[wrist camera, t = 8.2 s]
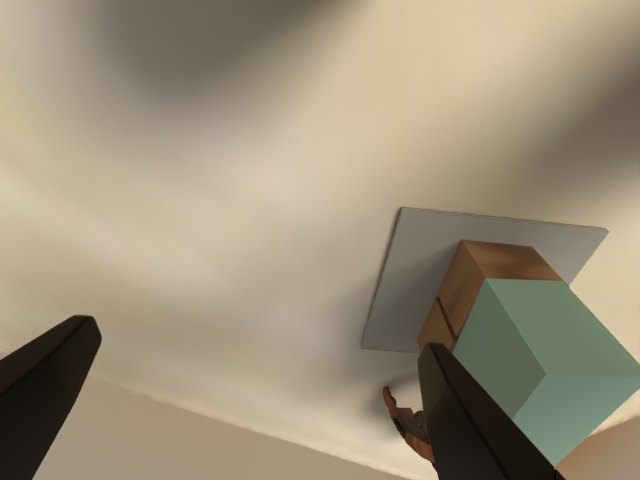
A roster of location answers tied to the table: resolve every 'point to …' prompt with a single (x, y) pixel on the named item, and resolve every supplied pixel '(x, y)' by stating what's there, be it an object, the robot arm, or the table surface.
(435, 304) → the brown wooden block
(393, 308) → the build mat
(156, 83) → the table surface
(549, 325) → the lintel
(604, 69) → the table surface
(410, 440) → the brown curved piece
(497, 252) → the post
